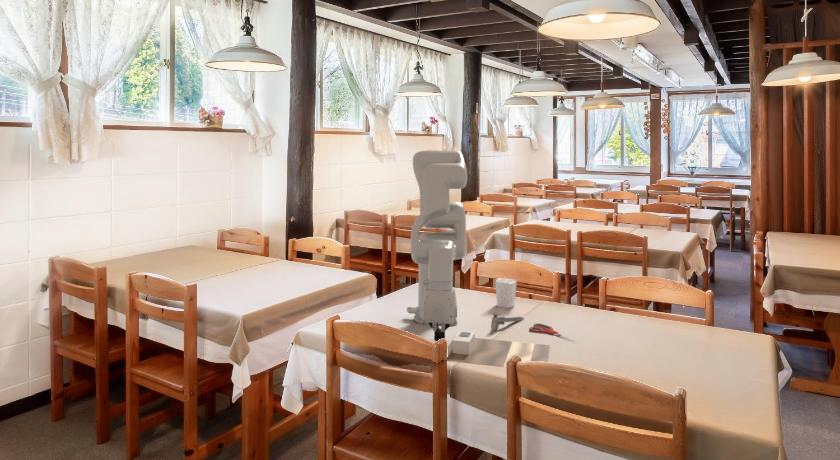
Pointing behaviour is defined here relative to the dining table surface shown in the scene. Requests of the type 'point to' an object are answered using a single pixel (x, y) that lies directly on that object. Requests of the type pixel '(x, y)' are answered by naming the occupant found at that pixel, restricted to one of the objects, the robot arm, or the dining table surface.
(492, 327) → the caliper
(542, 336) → the dining table surface
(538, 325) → the scissors
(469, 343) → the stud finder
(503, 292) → the white cup
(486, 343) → the subfloor panel
